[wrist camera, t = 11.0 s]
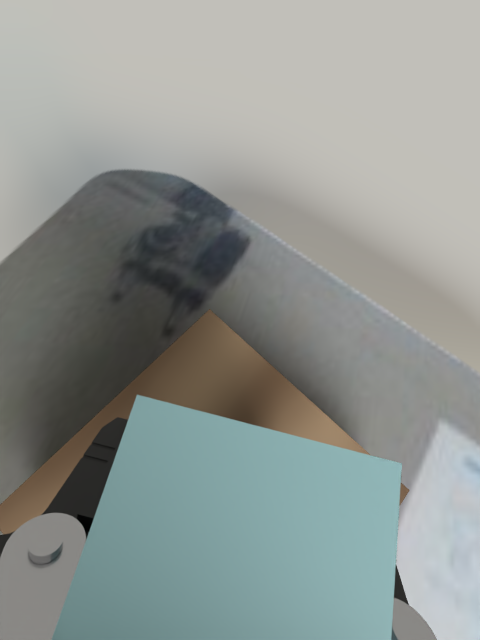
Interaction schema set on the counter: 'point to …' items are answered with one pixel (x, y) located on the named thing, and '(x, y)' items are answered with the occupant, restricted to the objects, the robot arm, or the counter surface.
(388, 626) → the teal block
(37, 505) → the walnut block
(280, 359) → the counter surface
